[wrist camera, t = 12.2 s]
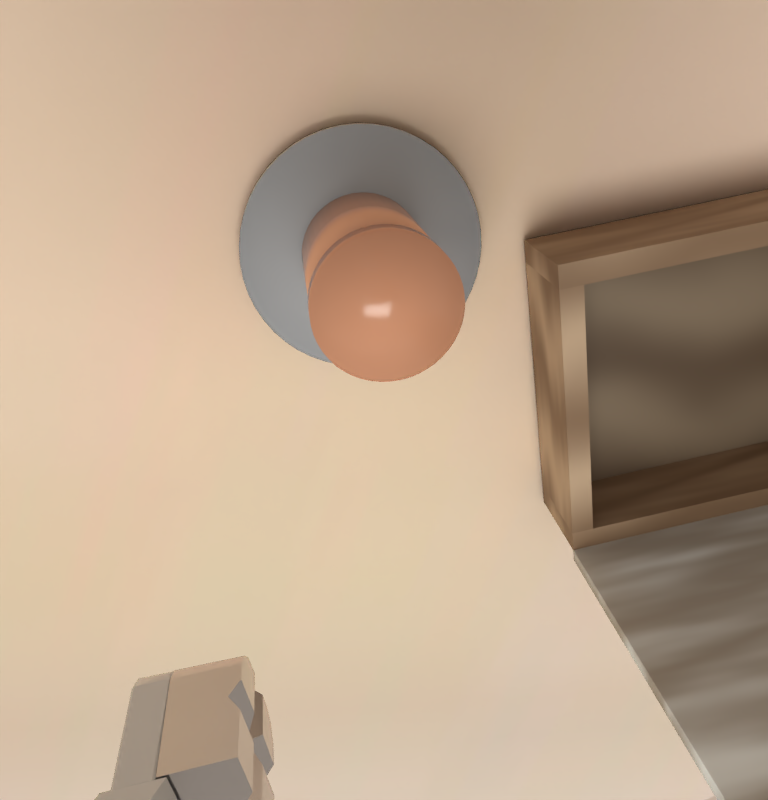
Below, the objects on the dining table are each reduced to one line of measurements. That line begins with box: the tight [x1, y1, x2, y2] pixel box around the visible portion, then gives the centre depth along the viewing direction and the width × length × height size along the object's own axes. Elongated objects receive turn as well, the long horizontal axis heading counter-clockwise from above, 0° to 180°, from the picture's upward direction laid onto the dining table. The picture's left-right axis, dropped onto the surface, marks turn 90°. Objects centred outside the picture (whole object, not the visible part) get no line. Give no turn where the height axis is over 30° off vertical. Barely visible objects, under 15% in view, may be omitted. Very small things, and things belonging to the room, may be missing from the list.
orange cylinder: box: [302, 192, 465, 382], centre depth 26 cm, size 5×5×7 cm
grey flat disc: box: [239, 123, 481, 363], centre depth 29 cm, size 10×10×1 cm
